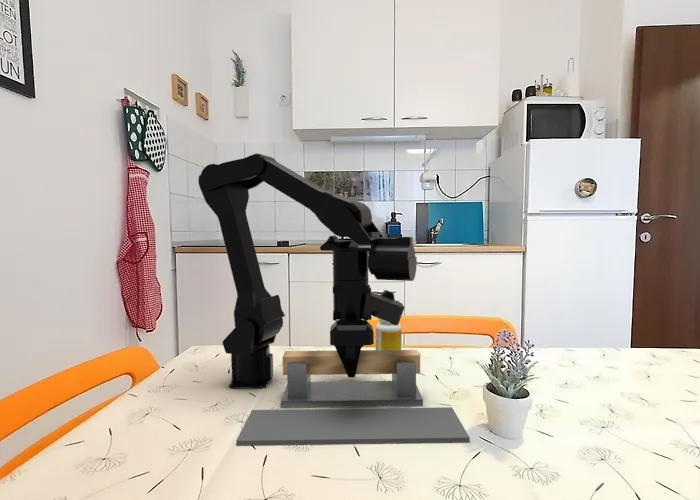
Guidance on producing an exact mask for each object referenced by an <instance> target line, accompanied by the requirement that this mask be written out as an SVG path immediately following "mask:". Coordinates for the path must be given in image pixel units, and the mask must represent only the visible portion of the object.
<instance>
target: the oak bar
mask: <svg viewBox="0 0 700 500" xmlns="http://www.w3.org/2000/svg"><path fill="white" fill-rule="evenodd" d="M396 361H415V363H416V375H417V374H418V375H419V374H420V375H421V354H420V352H419V350H418V349H401V350H376V349H372V350H371V349H361V351H360V356H359V361H358V365H357V370H356V375H392V374H396ZM288 362H307V370H308V375H311V376H322V375H323V376H324V375H325V376H326V375H327V376H328V375H330V376H331V375H332V376H334V375H335V376H337V375H339V376H340V375H347V373H346V371H345V368H344V366H343V364H342V361H341V359H340V357H339V354H338V352H337V350H285V351H284V353H283V355H282V376H287V364H288Z"/></svg>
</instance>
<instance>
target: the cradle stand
mask: <svg viewBox="0 0 700 500" xmlns="http://www.w3.org/2000/svg"><path fill="white" fill-rule="evenodd" d="M286 378H287V380H286V381H287V384H286V386H285V389H284V392H283V395H282V397H281V399H280V408H281V409H283V408H285V409H286V408H288V409H289V408H292V409H293V408H347V407H348V408H350V407H351V408H353V407H354V408H355V407H356V408H358V407H359V408H360V407H361V408H364V407H365V408H368V407H372V408H374V407H424V399H423V396H422V394H421V392H420V389H419V387H418V385H417V374H416V363H415V361H396V374H391V380H372V381H371V380H369V381H368V380H357V381H356V380H354V381H353V380H352V381H351V380H349V381H348V380H347V381H346V380H344V381H341V380H340V381H339V380H338V381H334V380H333V381H312V380H311V379H312V375H308V370H307V362H288V364H287V375H286Z"/></svg>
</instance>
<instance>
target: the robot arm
mask: <svg viewBox="0 0 700 500" xmlns="http://www.w3.org/2000/svg"><path fill="white" fill-rule="evenodd" d="M197 179H198V180H197V181H198V186H199V189H200V192H201V194H202V196H203V199H204V201H205V203H206V205H207V206H208V207H209V208H210V209H211V211H212V213H214V214H215V215H216V217H217V219H218V222H219V226H220V230H221V231H220V232H221V234H222V239H223V242H224V247H225V250H226V254H227V259H228V263H229V267H230V270H231V275H232V278H233V283H234V286H235V287H234V288H235V290H236V294H237V295H236V300H235V306H234V311H233V317H234V318H233V319H234V329H232V331H231V332H230V333H229V334H228V335H227V336H226V337H225V338H224V339H223V340H222V347H223V348H224V352H225V354H228V355H229V354H230V356H231V358H230V359H231V362H230V363H231V381H230V383H229V385H228V388H230V389H239V388H240V389H244V388H246V389H247V388H248V389H249V388H250V389H251V388H259V389H261V388H266V387H267V386H268V384H269V383H270V381H271V380H272V378H273V376H274V354H273V353H270V352H271V351H270V345H271V344H274V343H275V340H276V337H277V335H278V334H279V333H280V331H281V330H282V328H283V326H284V319H283V317H286V314H285V313H284V311H283V309H282V305H281V298H280V295H279V294H276V295H273V296H272V295H271V294H270V292H269V291H268V290H267V289H266V287H265V284H264V280H263V276H262V271H261V268H260V264H259V260H258V256H257V255H258V254H257V253H256V249H255V244H254V240H253V236H252V233H251V229H250V224H249V221H248V217H247V207H248V203H249V199H250V195H249V190H251V189H254V188H257V187H258V186H260V185H261V184H262V183H266V184H267V185H270V187H272V188H274V189H275V190H278V191H279V192H280V193H282V194H284V195H286V196H287V197H288V198H290V199H292V200H294V201H295V202H297V203H299V204H300V205H302V206H303V207H305V208H307V209H309V210H310V211H311V212H312V213H313V214H314V215H315V217H316V218H317V220H318V221H319V222H320V223H321V224H322V225H324V226H325V227H326V228H327V229H328V230H329V231H330V232H331V233H333V234H334V235H330V236H328V238H327V240H326V241H325V242H324V243H323V244H322V245H320V246H319V249H320V251H323V252H325V251H332V294H333V295H332V297H333V299H332V300H333V301H332V303H333V304H332V305H333V310H332V320H333V321H334V323H332V324H331V326H330V329H329V333H330V334H329V345H330V346H334V348H335V351H337V352H338V354H339V357H340V359H341V361H342V364H343V366H344V368H345V371H346V373H347V374H346V376H347V378H355V377H356V375H357V374H356V370H357V365H358V361H359V356H360V351H361V350H362V348H363V347H364V346H373V345H374V340H375V339H374V335H375V333H374V328H373V325H372V324H371V323H370V322H369V320H370V321H372V316H373V317H375V318H377V319H379V318H380V319H382V320H385V321H388V322H390V324H393V325H398V324H400V321H401V319H402V317H403V314H404V309H405V308H406V307H405V305H404V304H403V303H402V302H400V300H395V294H394V292H393V291H390V290H387V289H384V290H383V291H382V292H381V293H380V294H379V293H375V292H372V287H371V284H369V273H370V275H374V277H375V279H376V280H378V281H379V280H380V281H398V282H399V281H405V282H413V281H414V280H415V278H416V274H417V266H418V265H417V262H418V261H417V256H416V250H415V246H414V238H413V236H401V237H384V235H383V234H382V233H381V231H380V230H379V228H378V227H377V226H376V224H375V223H374V222H373V216H372V212H371V211H372V210H371V208H369V206H368V205H366V204H365V203H363V202H361V201H359V200H355V199H353V198H349V197H347V196H344V195H340V194H338V193H337V194H336V193H333V192H331V191H328V190H326V189H325V188H323V187H321V186H320V185H317V184H316V183H314V182H313V181H310V180H309V179H307V178H305V177H304V176H302V175H301V174H298V173H297V172H295V171H293V170H292V169H290V168H288V167H286V166H285V165H283V164H281V163H280V162H278V161H277V160H276V159H275V158H274V157H272V156H268V155H265V154H263V153H254V154H250V155H249V156H246V157H243V158H239V159H234V160H229V161H226V162H222V163H219V164H218V163H217V164H216V163H210V164H207V165H206V166H205V167H204V168H203V169H202V171H201V172H200V175H199V176H198V178H197ZM338 237H340V238H349V239H350V240H347V239H346V240H345V239H344V240H343V239H342V240H340V239H339V238H338ZM359 244H360V245H361V244H362V245H364V244H365V245H367V244H369V245H370V246H359Z"/></svg>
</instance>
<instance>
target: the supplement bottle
mask: <svg viewBox="0 0 700 500" xmlns="http://www.w3.org/2000/svg"><path fill="white" fill-rule="evenodd" d="M378 321H379V322H377V324H376V326H375V350H402V326H401V324H400V323H399V324H398V325H393V324H390V322H388V321H385V320H382V319H380V318H378Z"/></svg>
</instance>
